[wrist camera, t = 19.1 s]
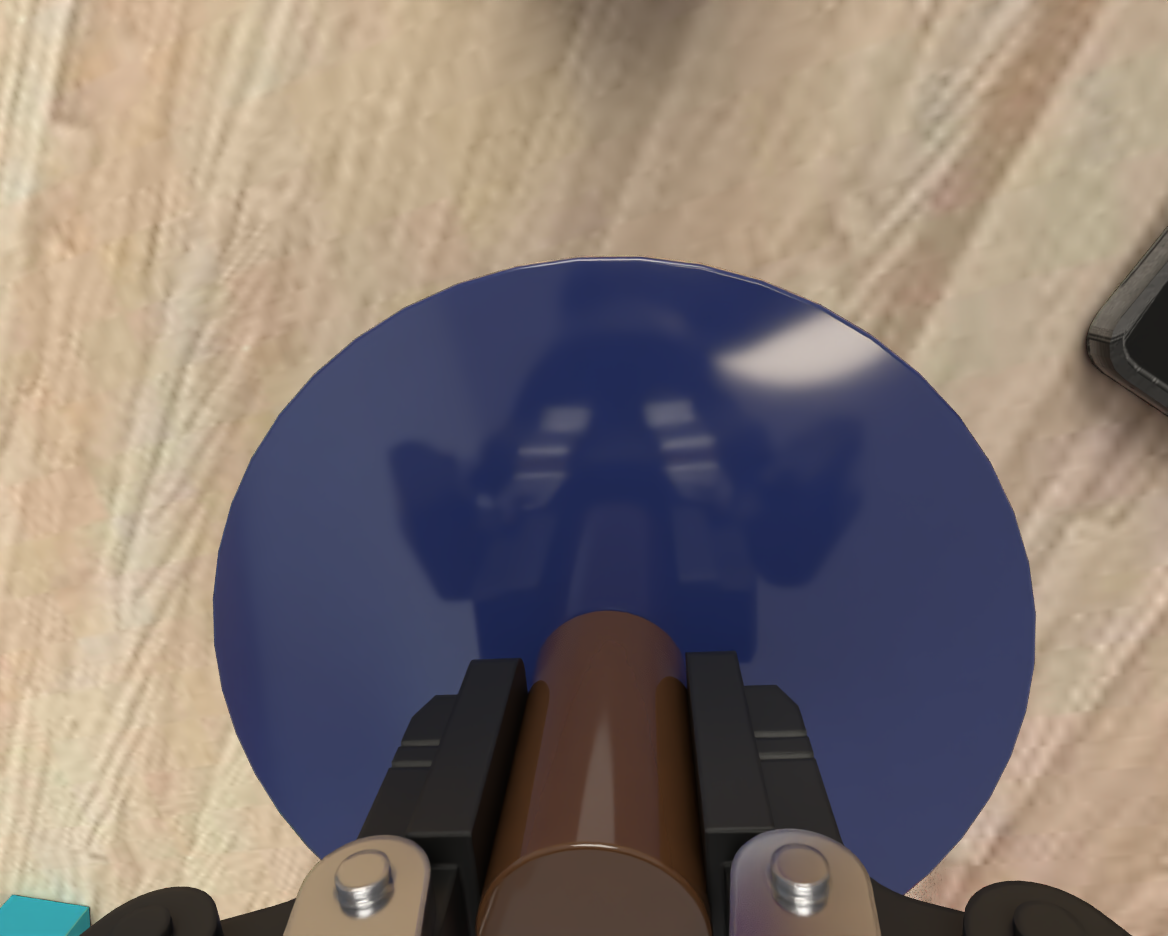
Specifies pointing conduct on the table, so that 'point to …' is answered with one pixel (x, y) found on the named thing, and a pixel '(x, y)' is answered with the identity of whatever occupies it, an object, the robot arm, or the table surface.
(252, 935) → the robot arm
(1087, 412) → the table surface
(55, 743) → the table surface
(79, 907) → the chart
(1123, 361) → the phone
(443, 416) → the lid
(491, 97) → the table surface
